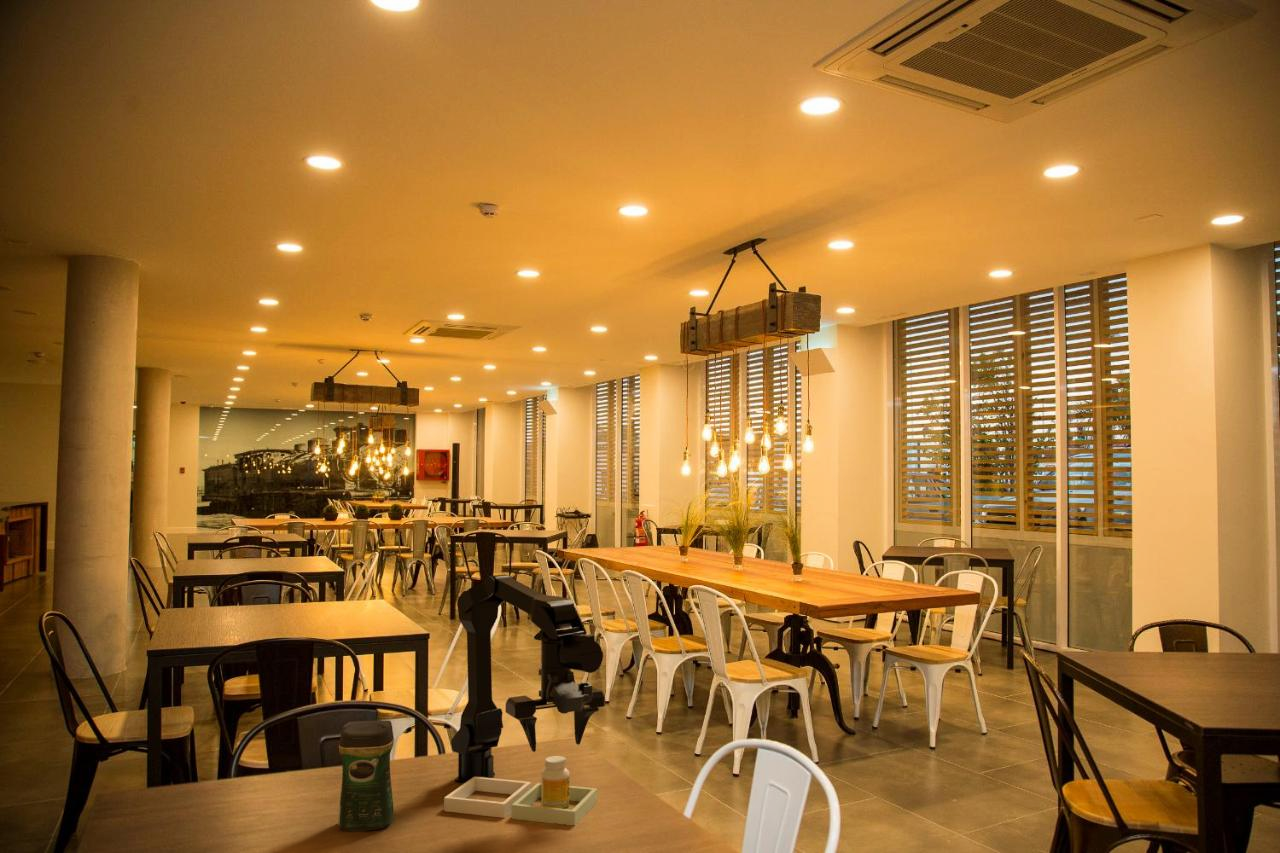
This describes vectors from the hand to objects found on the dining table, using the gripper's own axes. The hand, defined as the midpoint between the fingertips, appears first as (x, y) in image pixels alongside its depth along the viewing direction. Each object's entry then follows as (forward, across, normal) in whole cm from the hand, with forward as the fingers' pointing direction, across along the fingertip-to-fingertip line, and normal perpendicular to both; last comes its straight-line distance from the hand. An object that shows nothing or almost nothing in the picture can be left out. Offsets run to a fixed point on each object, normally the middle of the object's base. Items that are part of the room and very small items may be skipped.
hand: (556, 747), depth 171 cm
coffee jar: (+12, -33, +11) cm, 37 cm away
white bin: (+12, -10, +10) cm, 18 cm away
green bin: (+12, 0, 0) cm, 12 cm away
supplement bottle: (+12, 0, 0) cm, 12 cm away
